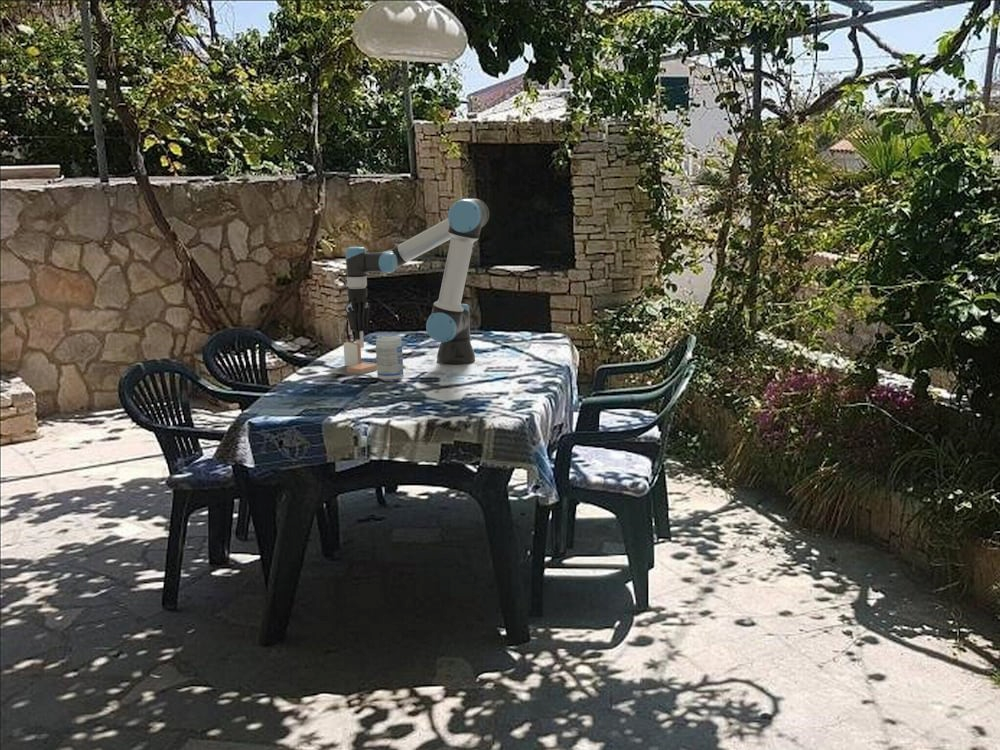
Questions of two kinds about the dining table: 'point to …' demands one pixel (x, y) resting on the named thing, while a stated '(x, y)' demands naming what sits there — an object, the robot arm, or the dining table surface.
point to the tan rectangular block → (361, 368)
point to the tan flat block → (352, 354)
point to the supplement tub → (389, 358)
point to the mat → (344, 370)
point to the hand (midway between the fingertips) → (360, 347)
